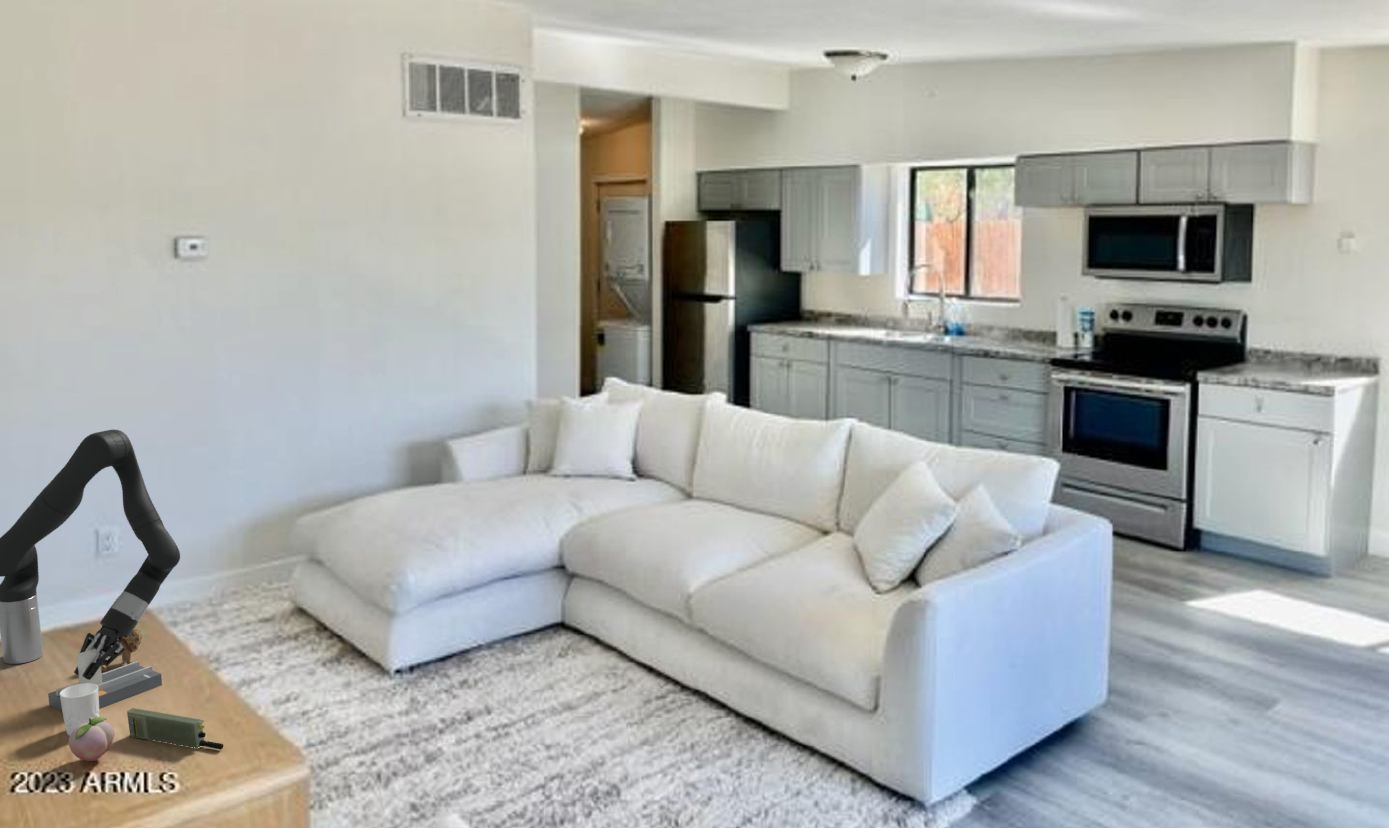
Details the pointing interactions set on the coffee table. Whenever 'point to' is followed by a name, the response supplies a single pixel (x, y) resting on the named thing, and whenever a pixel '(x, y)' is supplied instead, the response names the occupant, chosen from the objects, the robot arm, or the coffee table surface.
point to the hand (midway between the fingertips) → (81, 676)
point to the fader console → (118, 684)
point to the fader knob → (83, 663)
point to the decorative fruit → (91, 739)
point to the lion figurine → (129, 646)
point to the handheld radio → (168, 728)
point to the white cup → (79, 704)
